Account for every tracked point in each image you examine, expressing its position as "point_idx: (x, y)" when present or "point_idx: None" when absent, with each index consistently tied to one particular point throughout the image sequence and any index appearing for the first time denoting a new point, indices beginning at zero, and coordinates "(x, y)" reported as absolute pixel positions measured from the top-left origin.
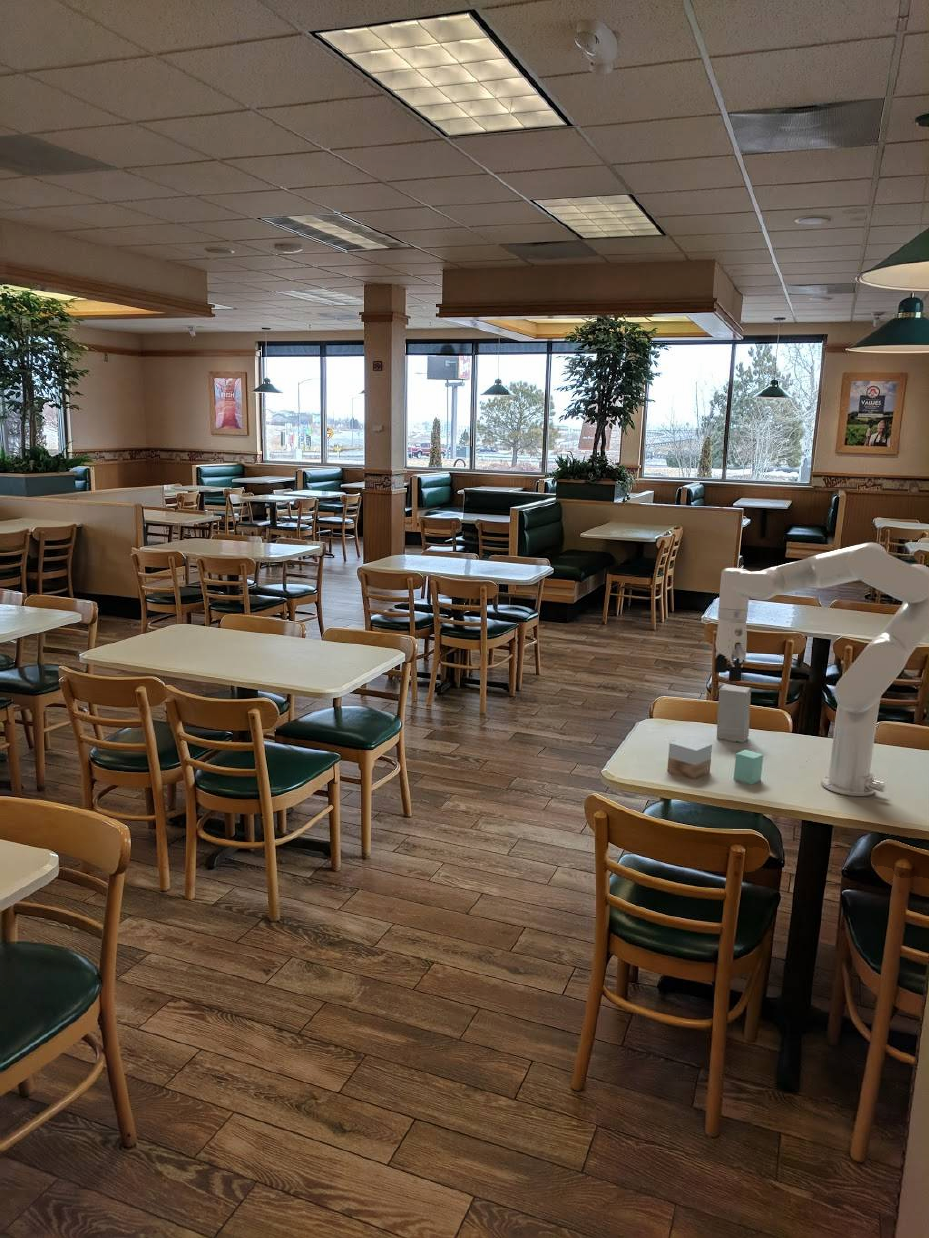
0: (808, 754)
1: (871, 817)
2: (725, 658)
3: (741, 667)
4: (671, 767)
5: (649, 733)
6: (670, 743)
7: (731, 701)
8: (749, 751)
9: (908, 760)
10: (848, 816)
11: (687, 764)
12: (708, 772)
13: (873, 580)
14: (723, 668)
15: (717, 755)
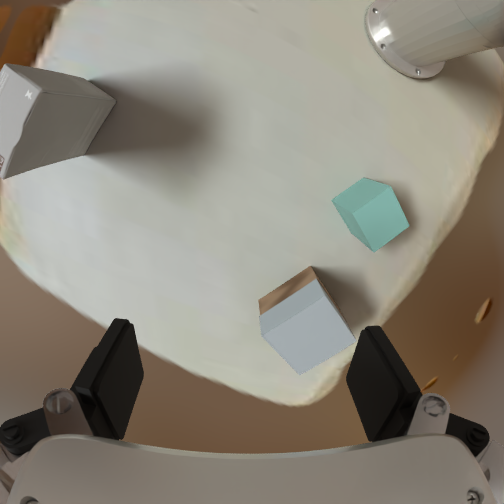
0: None
1: (495, 105)
2: (88, 397)
3: (416, 389)
4: None
5: (72, 292)
6: (301, 373)
7: (42, 135)
8: (366, 210)
9: None
10: (493, 135)
11: None
12: (313, 270)
13: None
14: (128, 356)
15: (200, 200)
